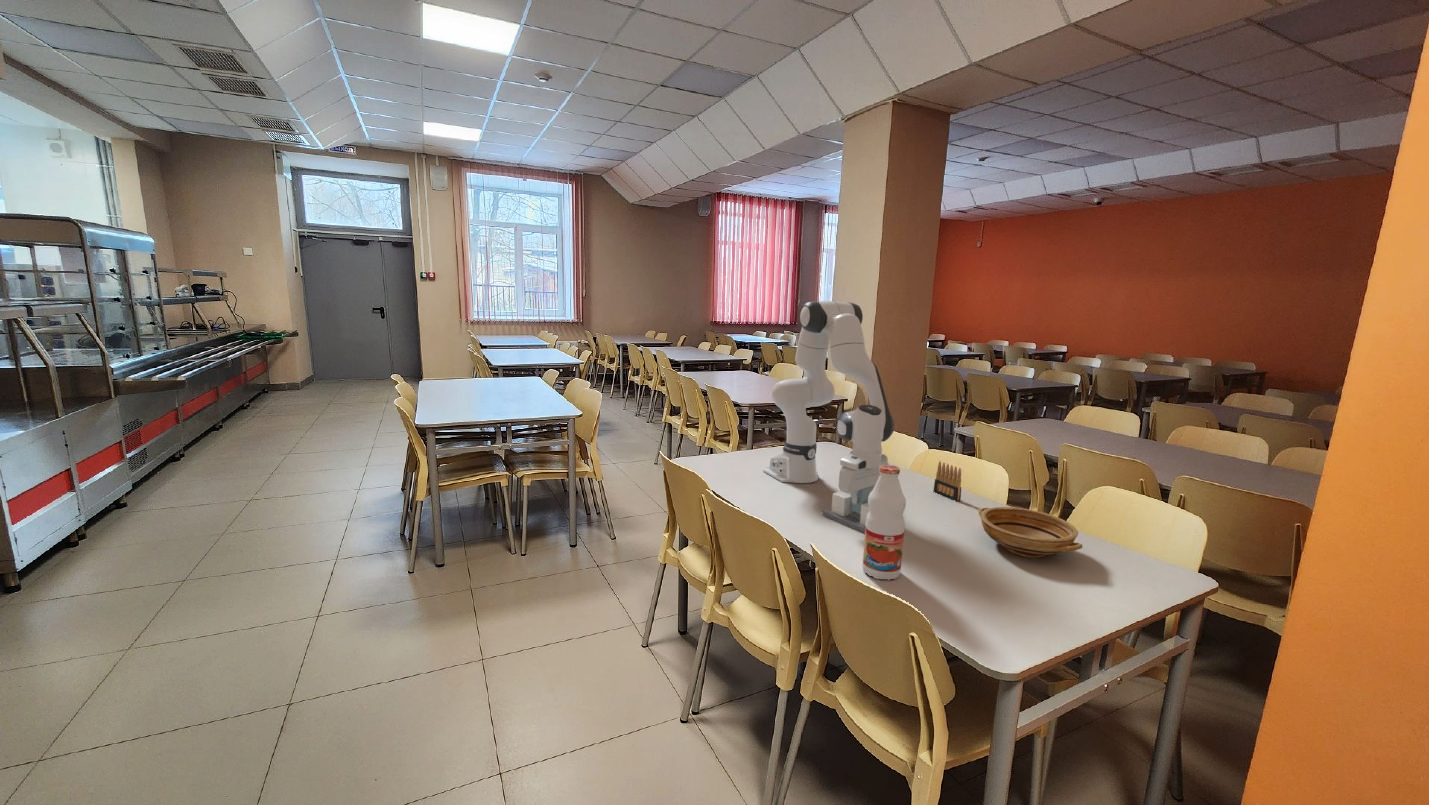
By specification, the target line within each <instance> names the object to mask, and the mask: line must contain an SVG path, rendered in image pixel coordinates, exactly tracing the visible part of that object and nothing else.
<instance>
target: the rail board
mask: <svg viewBox="0 0 1429 805" xmlns="http://www.w3.org/2000/svg"><path fill="white" fill-rule="evenodd" d="M851 509H852V497H851V494H850V493H845V492H842V491H841V490H840V491H837V492H834V493H832V499H831V508H830V509H825V510H823V511H822V516H823V517H825V518H828V519H829V520H832V521H835V522H837V523H839V524H842V525H845V526H846V527H849V528H851V529H853V530H855V531H858V532H861V533H862V532H863V534H865V524H866V517H867V514H868V512H869V506H868V503H865V504H862V505H861V514H859V513H857V512H854V511H852V510H851Z"/></svg>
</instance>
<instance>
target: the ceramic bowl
mask: <svg viewBox="0 0 1429 805" xmlns="http://www.w3.org/2000/svg"><path fill="white" fill-rule="evenodd" d="M978 515H979V517H980V519H981V526H982V528H983V531H984V532H985V533H986V534H987V536H989V538H991V539H992V540H993V541H995V542H996V543H998V544H1000V545H1002V547H1003V548H1004V549H1005V550H1006V551H1008V552H1010V553H1013V554H1016V555H1019V556H1023V557H1027V558H1043V557H1045V556H1047V555H1053V554H1054V555H1055V554H1059V553H1062V552H1074V551H1077V550H1081V549H1082V548H1083V543H1081V542H1075V540H1076V538H1078V536H1079V531H1078V529H1077V528H1076V527H1075V526H1074V525H1073V524H1071V523H1070V522H1068V521H1066V520H1065V519H1063V518H1060V517H1057V516H1056V515H1053V514H1049V513H1046V512H1042V511H1039V510H1034V509H1028V508H1025V507H1024V508H1023V507H1013V506H1012V507H1011V506H998V507H997V506H996V507H982V508H980V509H979V510H978Z"/></svg>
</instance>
